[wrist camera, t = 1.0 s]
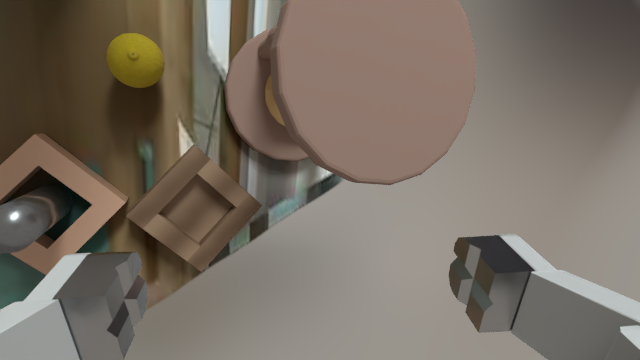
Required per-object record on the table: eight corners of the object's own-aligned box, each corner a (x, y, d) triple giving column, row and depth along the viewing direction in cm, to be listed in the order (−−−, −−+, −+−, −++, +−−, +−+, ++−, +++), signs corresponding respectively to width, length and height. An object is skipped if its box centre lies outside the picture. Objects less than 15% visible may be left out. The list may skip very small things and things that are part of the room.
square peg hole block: (129, 209, 44) (125, 216, 40) (193, 144, 46) (195, 145, 42) (199, 261, 48) (201, 272, 44) (255, 199, 50) (262, 205, 46)
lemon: (164, 93, 44) (163, 86, 36) (112, 88, 41) (100, 79, 34) (165, 46, 43) (164, 29, 36) (112, 39, 41) (99, 19, 33)
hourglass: (359, 133, 55) (495, 136, 32) (255, 180, 49) (329, 224, 26) (321, 15, 50) (449, -81, 27) (201, 52, 45) (234, -28, 22)
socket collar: (-39, 208, 37) (-55, 214, 35) (44, 133, 39) (34, 133, 37) (58, 268, 42) (50, 277, 39) (128, 197, 43) (125, 202, 41)
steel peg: (20, 204, 39) (-37, 233, 28) (48, 177, 40) (3, 196, 29) (53, 226, 41) (11, 262, 30) (80, 200, 42) (49, 226, 31)
